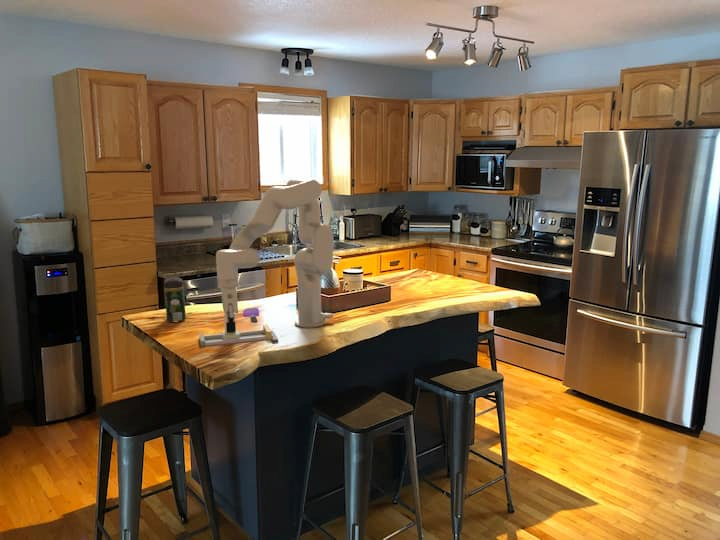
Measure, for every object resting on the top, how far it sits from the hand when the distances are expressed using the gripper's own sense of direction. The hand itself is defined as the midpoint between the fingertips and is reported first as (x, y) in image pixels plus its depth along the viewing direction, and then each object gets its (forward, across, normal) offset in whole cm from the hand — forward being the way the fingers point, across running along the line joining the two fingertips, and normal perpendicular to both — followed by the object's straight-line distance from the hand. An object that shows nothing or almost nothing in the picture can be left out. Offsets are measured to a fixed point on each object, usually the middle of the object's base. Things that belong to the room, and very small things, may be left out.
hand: (230, 330), depth 221 cm
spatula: (+5, +29, -12) cm, 32 cm away
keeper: (+4, 0, 0) cm, 4 cm away
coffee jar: (+5, +40, +19) cm, 45 cm away
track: (+5, 0, -3) cm, 6 cm away
